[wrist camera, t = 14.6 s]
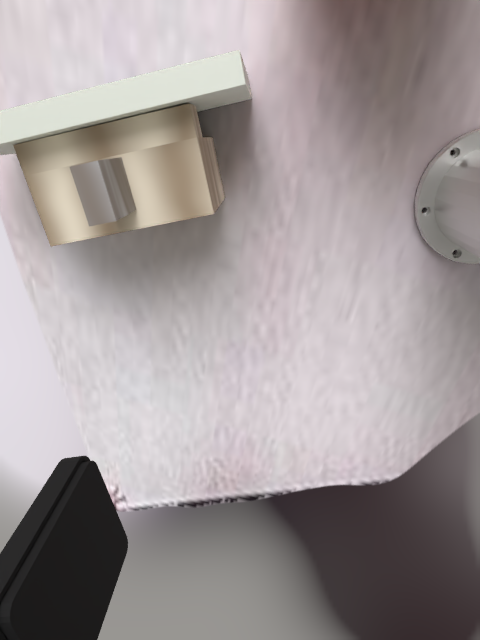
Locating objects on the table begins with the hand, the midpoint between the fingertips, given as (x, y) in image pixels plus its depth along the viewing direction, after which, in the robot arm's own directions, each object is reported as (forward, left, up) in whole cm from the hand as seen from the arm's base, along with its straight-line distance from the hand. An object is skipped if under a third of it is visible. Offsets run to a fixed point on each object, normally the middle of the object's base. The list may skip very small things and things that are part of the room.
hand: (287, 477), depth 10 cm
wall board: (+12, -12, -36) cm, 40 cm away
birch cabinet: (+11, -7, -36) cm, 39 cm away
